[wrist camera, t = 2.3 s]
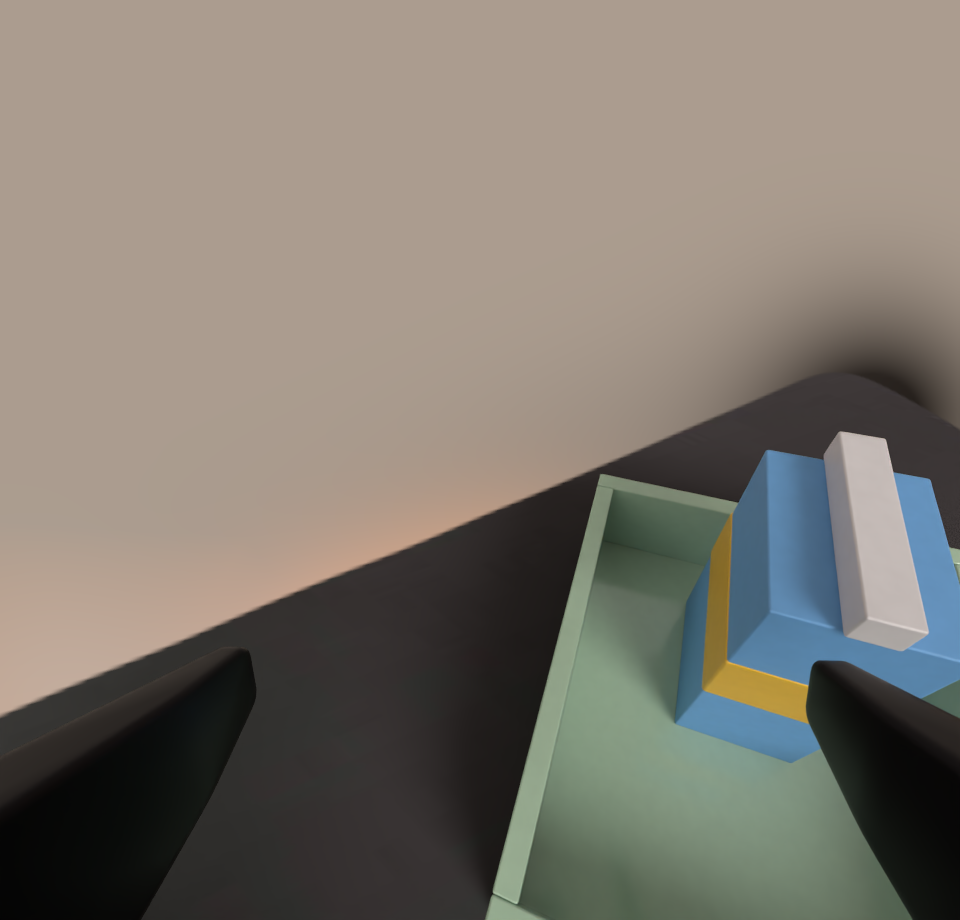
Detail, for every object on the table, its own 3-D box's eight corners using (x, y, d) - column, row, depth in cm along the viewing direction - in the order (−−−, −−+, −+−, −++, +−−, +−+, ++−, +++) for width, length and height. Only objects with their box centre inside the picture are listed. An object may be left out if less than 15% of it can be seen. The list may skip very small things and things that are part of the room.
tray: (1002, 1171, 12) (1207, 1294, 9) (494, 919, 16) (482, 927, 12) (896, 610, 21) (973, 551, 18) (590, 534, 25) (600, 472, 22)
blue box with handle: (793, 769, 17) (1027, 658, 9) (672, 727, 19) (783, 597, 10) (787, 625, 21) (956, 449, 12) (685, 597, 22) (776, 419, 14)
